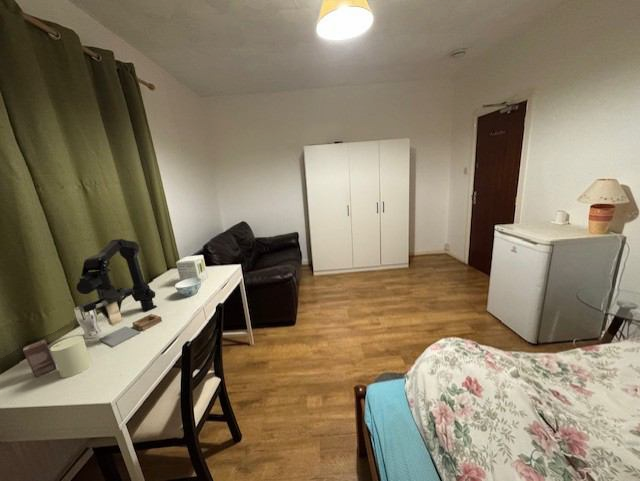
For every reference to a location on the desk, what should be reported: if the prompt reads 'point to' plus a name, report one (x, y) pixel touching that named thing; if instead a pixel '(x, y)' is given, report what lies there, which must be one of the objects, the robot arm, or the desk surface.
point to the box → (39, 358)
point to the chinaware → (188, 286)
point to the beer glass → (88, 322)
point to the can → (71, 356)
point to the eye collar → (140, 323)
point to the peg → (113, 313)
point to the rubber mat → (119, 336)
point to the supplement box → (192, 268)
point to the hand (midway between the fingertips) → (113, 315)
